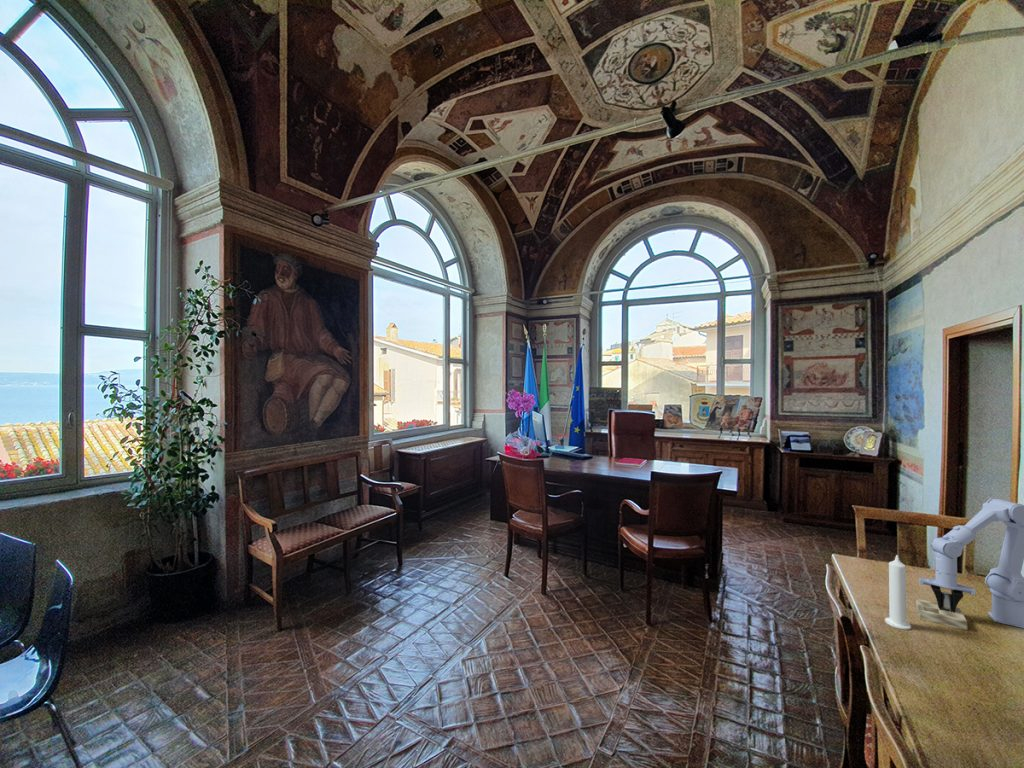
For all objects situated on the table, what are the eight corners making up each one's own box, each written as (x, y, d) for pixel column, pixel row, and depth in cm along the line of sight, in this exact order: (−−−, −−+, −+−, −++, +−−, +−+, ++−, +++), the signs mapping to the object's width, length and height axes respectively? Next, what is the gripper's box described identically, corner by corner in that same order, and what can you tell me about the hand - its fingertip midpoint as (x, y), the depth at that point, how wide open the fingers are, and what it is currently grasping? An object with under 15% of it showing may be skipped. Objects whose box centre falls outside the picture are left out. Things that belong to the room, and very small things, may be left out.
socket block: (959, 616, 158) (959, 608, 158) (967, 630, 149) (967, 621, 149) (915, 605, 166) (915, 598, 166) (920, 619, 156) (920, 610, 156)
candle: (916, 631, 148) (915, 559, 149) (893, 628, 150) (892, 558, 150) (902, 620, 155) (901, 552, 156) (880, 618, 157) (879, 550, 157)
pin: (951, 614, 158) (951, 593, 158) (952, 618, 155) (952, 596, 156) (940, 612, 160) (939, 590, 160) (941, 615, 157) (941, 593, 158)
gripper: (971, 573, 156) (971, 609, 156) (917, 563, 165) (918, 598, 165) (976, 579, 151) (977, 618, 151) (920, 569, 160) (921, 605, 159)
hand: (946, 608), depth 158 cm, fingers closed on pin, 3 cm apart
